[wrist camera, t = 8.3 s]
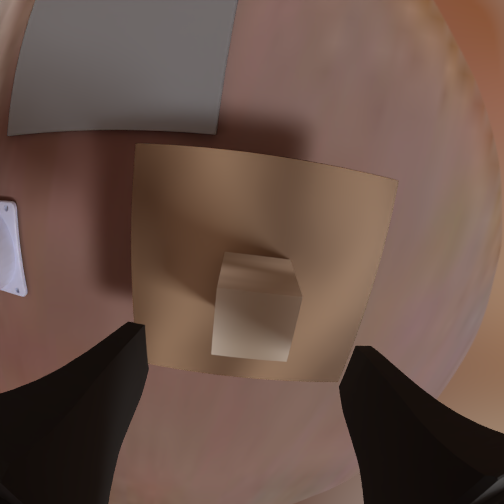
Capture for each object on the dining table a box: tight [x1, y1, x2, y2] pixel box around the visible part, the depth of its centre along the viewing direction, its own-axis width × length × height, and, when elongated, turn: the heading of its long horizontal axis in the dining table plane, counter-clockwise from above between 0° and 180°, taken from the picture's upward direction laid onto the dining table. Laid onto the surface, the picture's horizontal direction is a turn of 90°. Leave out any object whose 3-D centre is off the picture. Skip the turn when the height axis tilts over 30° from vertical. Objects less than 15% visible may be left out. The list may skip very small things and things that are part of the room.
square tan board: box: [131, 143, 399, 382], centre depth 13 cm, size 12×12×4 cm
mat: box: [7, 0, 238, 136], centre depth 13 cm, size 16×16×1 cm
